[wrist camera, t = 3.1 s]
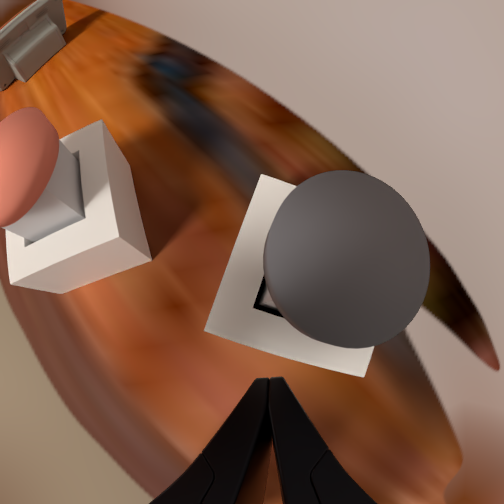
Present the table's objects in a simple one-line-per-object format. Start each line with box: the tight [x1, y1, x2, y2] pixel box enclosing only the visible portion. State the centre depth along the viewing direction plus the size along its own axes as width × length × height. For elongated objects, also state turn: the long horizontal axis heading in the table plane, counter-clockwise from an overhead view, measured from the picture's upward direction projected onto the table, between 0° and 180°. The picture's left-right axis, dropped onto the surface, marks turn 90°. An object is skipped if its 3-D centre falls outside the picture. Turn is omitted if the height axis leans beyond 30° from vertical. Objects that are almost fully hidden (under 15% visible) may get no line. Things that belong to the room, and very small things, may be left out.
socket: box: [204, 174, 374, 377], centre depth 18 cm, size 9×9×7 cm
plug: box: [258, 170, 430, 349], centre depth 13 cm, size 6×6×8 cm
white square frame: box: [6, 119, 152, 294], centre depth 18 cm, size 9×9×7 cm
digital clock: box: [0, 0, 66, 91], centre depth 21 cm, size 16×9×11 cm, turn 136°
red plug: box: [0, 107, 86, 242], centre depth 13 cm, size 6×6×8 cm
